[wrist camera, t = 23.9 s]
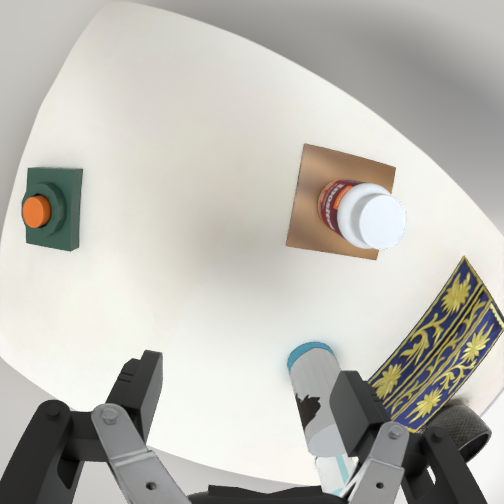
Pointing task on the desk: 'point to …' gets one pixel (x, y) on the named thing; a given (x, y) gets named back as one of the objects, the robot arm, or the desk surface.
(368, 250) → the shiny brown mat
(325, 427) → the cup
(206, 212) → the desk surface
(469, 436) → the planter
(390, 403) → the decorative box
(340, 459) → the can
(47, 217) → the button
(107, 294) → the desk surface
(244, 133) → the desk surface
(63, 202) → the green button base
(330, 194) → the pill bottle
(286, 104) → the desk surface
